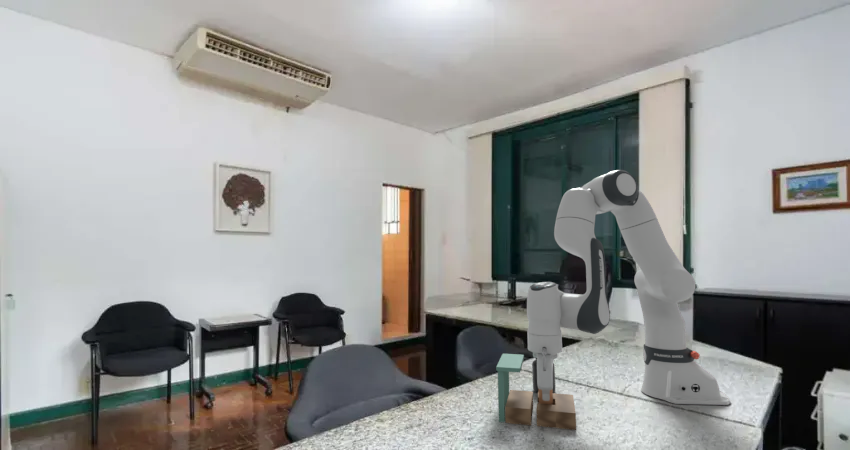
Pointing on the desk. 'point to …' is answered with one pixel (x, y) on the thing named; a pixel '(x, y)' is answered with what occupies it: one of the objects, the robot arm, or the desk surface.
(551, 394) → the peg
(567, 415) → the socket block
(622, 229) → the robot arm
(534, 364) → the supplement bottle
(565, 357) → the desk surface
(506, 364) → the teal u-shaped bracket
